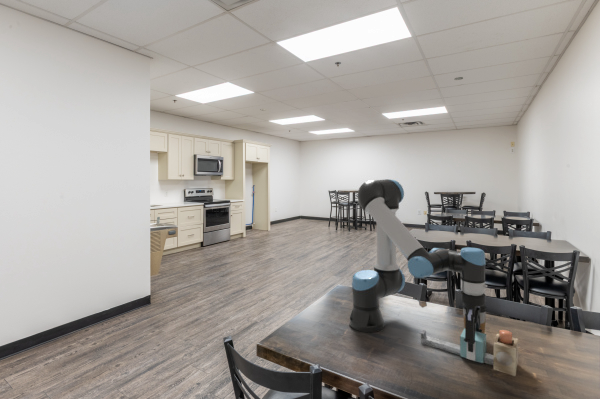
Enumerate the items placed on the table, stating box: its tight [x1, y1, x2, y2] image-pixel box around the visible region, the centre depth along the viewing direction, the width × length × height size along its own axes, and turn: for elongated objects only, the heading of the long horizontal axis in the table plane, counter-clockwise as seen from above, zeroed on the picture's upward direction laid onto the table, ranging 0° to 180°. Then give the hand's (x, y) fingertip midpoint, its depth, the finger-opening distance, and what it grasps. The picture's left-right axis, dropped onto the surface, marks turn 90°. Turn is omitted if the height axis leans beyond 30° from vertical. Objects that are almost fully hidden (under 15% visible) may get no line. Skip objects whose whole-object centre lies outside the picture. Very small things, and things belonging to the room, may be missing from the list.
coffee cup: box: [462, 302, 488, 334], centre depth 119 cm, size 8×8×15 cm
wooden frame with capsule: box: [492, 333, 519, 377], centre depth 101 cm, size 6×8×9 cm
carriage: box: [459, 328, 487, 364], centre depth 108 cm, size 7×7×8 cm
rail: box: [420, 329, 494, 366], centre depth 111 cm, size 26×3×4 cm, turn 50°
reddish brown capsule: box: [498, 329, 513, 344], centre depth 101 cm, size 4×4×3 cm
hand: (473, 354), depth 108 cm, fingers closed on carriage, 7 cm apart
